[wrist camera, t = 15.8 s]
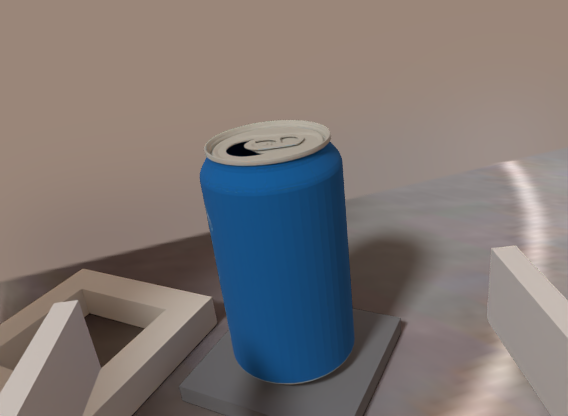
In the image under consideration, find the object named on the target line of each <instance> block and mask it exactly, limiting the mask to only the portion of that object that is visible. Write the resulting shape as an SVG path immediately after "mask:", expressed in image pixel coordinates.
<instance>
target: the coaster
mask: <svg viewBox="0 0 568 416" xmlns="http://www.w3.org/2000/svg"><path fill="white" fill-rule="evenodd" d="M353 322H354V337H355V340H354V346H353V349H352V352H351V353H350V355H349V357H348V358H347V359H346V361H345V362H344V363H343V364H342V365H341V366H340V367H338V368H337V369H336V370H334V371H333V372H331V373H329V374H328V375H326V376H323V377H321V378H319V379H316V380H313V381H310V382H307V383H302V384H294V385H287V384H276V383H270V382H266V381H263V380H260V379H258V378H255V377H253V376H251V375H250V374H248V373H247V372H246V371H244V370H243V369H242V368H241V366H240V365H239V364H238V362H237V360H236V358H235V356H234V352H233V347H232V341H231V336H230V331H229V330H228V331H227V332H226V333H225V335H224V336H223V337H222V338H221V339H220V340H219V341H218V342H217V344H216V345H215V346H214V347H213V348H212V349H211V350H210V352H209V353H208V354H207V355H206V356H205V357H204V358H203V359H202V361H201V362H200V363H199V364H198V365H197V366H196V367H195V368H194V370H193V371H192V372H191V373H190V374H189V375H188V376H187V377H186V379H185V380H184V381H183V382H182V383H181V384H180V385H179V389H180V392H181V396H182V400H183V401H185V402H188V403H191V404H194V405H197V406H200V407H203V408H206V409H209V410H212V411H215V412H217V413H220V414H223V415H226V416H363V414H364V412H365V410H366V408H367V406H368V403H369V401H370V399H371V397H372V395H373V392H374V390H375V388H376V386H377V384H378V381H379V379H380V377H381V375H382V373H383V370H384V368H385V366H386V364H387V362H388V360H389V357H390V355H391V353H392V351H393V349H394V346H395V344H396V342H397V340H398V338H399V335H400V333H401V318H399V317H394V316H389V315H384V314H379V313H374V312H369V311H364V310H360V309H355V308H353Z"/></svg>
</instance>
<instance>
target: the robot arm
mask: <svg viewBox="0 0 568 416" xmlns="http://www.w3.org/2000/svg"><path fill="white" fill-rule="evenodd" d="M487 320H488V322H489V323H490V325H491V326H492V328H493V329H494V331H495V332H496V334H497V335H498V337H499V338H500V340H501V341H502V343H503V344H504V346H505V347H506V349H507V350H508V352H509V353H510V355H511V356H512V358H513V359H514V361H515V362H516V364H517V365H518V367H519V368H520V370H521V371H522V373H523V374H524V376H525V377H526V379H527V380H528V382H529V383H530V385H531V386H532V388H533V389H534V391H535V392H536V394H537V395H538V397H539V398H540V400H541V401H542V403H543V404H544V406H545V407H546V409H547V410H548V412H549V413H550V415H551V416H568V300H567V299H566V298H565V297H564V296H563V295H562V294H561V293H560V292H559V291H558V290H557V289H556V288H555V287H554V286H553V285H552V283H551V282H550V281H549V280H548V279H547V278H546V277H545V276H544V275H543V274H542V273H541V272H540V271H539V270H538V269H537V268H536V267H535V266H534V265H533V263H532V262H531V261H530V260H529V259H528V258H527V257H526V256H525V255H524V254H523V253H522V252H521V251H520V250H519V249H518V248H517V247H516V246H507V247H499V248H491V261H490V277H489V293H488V309H487ZM100 369H101V366H100V363H99V360H98V357H97V354H96V351H95V348H94V345H93V342H92V339H91V336H90V334H89V331H88V328H87V325H86V322H85V319H84V316H83V313H82V310H81V307H80V304H79V301H78V300H75V301H67V302H59V303H54V304H53V306H52V308H51V309H50V311H49V313H48V314H47V316H46V318H45V319H44V321H43V323H42V324H41V326H40V328H39V329H38V331H37V333H36V334H35V336H34V338H33V339H32V341H31V343H30V344H29V346H28V347H27V349H26V351H25V352H24V354H23V356H22V357H21V359H20V361H19V362H18V364H17V366H16V367H15V369H14V371H13V372H12V374H11V376H10V377H9V379H8V381H7V382H6V384H5V386H4V387H3V389H2V391H1V392H0V416H83V413H84V410H85V408H86V405H87V403H88V400H89V398H90V395H91V392H92V390H93V387H94V385H95V382H96V379H97V377H98V374H99V372H100Z"/></svg>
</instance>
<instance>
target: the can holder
mask: <svg viewBox="0 0 568 416" xmlns="http://www.w3.org/2000/svg"><path fill="white" fill-rule="evenodd" d="M75 300H78V301H79V304H80V307H81V310H82V313H83V316H84V317H85V316H87V315H88V314H89V313H90V314H94V315H98V316H101V317H105V318H108V319H112V320H116V321H119V322H123V323H127V324H130V325H134V326H138V327H141V328H145V329H144V330H143V331H142V332H141V333H140V334H139V335H137V336H136V337H135V338H134V339H133V340H132V341H131V342H130V343H129V344H128V345H126V346H125V347H124V348H123V349H122V350H121V351H120V352H119V353H118V354H117V355H115V356H114V357H113V358H112V359H111V360H110V361H109V362H108V363H107V364H106V365H104V366H103V367H102V368H101V369H100V372H99V374H98V377H97V379H96V382H95V385H94V387H93V390H92V392H91V395H90V398H89V400H88V403H87V405H86V408H85V410H84V413H83V416H132V415H133V414H134V413H135V411H136V410H137V409H138V408H139V407H140V406H141V405H142V404H143V403H144V402H145V401H146V400H147V399H148V397H149V396H150V395H151V394H152V393H153V392H154V391H155V390H156V389H157V388H158V387H159V386H160V385H161V383H162V382H163V381H164V380H165V379H166V378H167V377H168V376H169V375H170V374H171V373H172V372H173V371H174V370H175V368H176V367H177V366H178V365H179V364H180V363H181V362H182V361H183V360H184V359H185V358H186V357H187V356H188V354H189V353H190V352H191V351H192V350H193V349H194V348H195V347H196V346H197V345H198V344H199V343H200V342H201V340H202V339H203V338H204V337H205V336H206V335H207V334H208V333H209V332H210V331H211V330H212V329H213V328H214V327H215V325H216V324H217V319H216V314H215V309H214V304H213V299H212V297H210V296H205V295H201V294H196V293H192V292H187V291H183V290H178V289H173V288H169V287H164V286H160V285H155V284H151V283H146V282H142V281H137V280H133V279H128V278H123V277H119V276H114V275H110V274H105V273H101V272H96V271H92V270H87V269H81V270H80V271H79V272H77V273H76V274H74V275H73V276H71V277H70V278H68V279H67V280H65V281H64V282H62V283H61V284H59V285H58V286H56V287H55V288H53V289H52V290H50V291H49V292H48V293H46V294H45V295H43V296H42V297H40V298H39V299H37V300H36V301H34V302H33V303H31V304H30V305H28V306H27V307H25V308H24V309H22V310H21V311H20V312H18V313H17V314H15V315H14V316H12V317H11V318H9V319H8V320H6V321H5V322H3V323H2V324H0V392H1V391H2V389H3V387H4V386H5V384H6V382H7V381H8V379H9V377H10V376H11V374H12V372H13V371H14V369H15V367H16V366H17V364H18V362H19V361H20V359H21V357H22V356H23V354H24V352H25V351H26V349H27V347H28V346H29V344H30V343H31V341H32V339H33V338H34V336H35V334H36V333H37V331H38V329H39V328H40V326H41V324H42V323H43V321H44V319H45V318H46V316H47V314H48V313H49V311H50V309H51V308H52V306H53V304H54V303H59V302H67V301H75Z"/></svg>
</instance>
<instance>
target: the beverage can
mask: <svg viewBox="0 0 568 416" xmlns="http://www.w3.org/2000/svg"><path fill="white" fill-rule="evenodd" d="M330 139H331V134H330V130H329V129H328V128H327V127H325V126H324V125H321V124H318V123H314V122H310V121H300V120H279V121H268V122H261V123H254V124H249V125H245V126H241V127H237V128H234V129H230V130H227V131H225V132H223V133H220V134H218V135H216V136H214V137H213V138H211V139H210V140H209V141H208V142H207V143H206V144H205V146H204V151H205V155H206V157H207V158H206V160H205V162H204V164H203V166H202V168H201V172H200V183H201V188H202V193H203V198H204V203H205V208H206V213H207V218H208V223H209V229H210V234H211V239H212V244H213V249H214V254H215V260H216V265H217V270H218V275H219V280H220V285H221V290H222V295H223V300H224V306H225V311H226V316H227V321H228V326H229V331H230V336H231V341H232V347H233V352H234V356H235V358H236V360H237V362H238V364H239V365H240V366H241V368H242V369H243V370H244V371H246V372H247V373H248V374H250V375H251V376H253V377H255V378H258V379H260V380H263V381H266V382H270V383H276V384H287V385H294V384H302V383H307V382H310V381H313V380H316V379H319V378H321V377H323V376H326V375H328V374H329V373H331V372H333V371H334V370H336V369H337V368H338V367H340V366H341V365H342V364H343V363H344V362H345V361H346V359H347V358H348V357H349V355H350V353H351V352H352V349H353V346H354V340H355V337H354V322H353V308H352V294H351V279H350V265H349V251H348V237H347V222H346V208H345V194H344V180H343V165H342V158H341V156H340V153H339V151H338V150H337V149H336V148H335V146H334V145H333V144H332V143H331V142H330Z"/></svg>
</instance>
